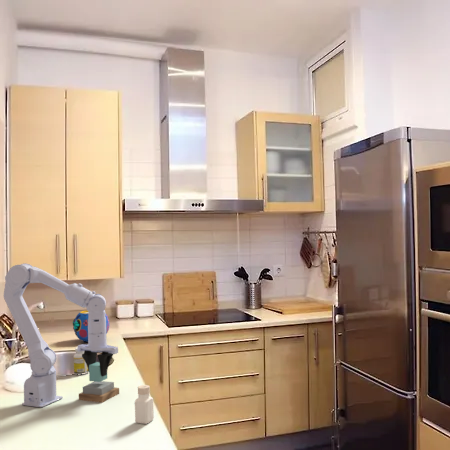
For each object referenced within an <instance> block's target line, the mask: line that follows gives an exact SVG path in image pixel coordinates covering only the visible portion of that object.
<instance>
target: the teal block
mask: <svg viewBox="0 0 450 450" xmlns="http://www.w3.org/2000/svg"><path fill="white" fill-rule="evenodd" d="M88 374H89V382H94V381H95V382H101V381H105V380H107V379H108V374H107V375H105V376H101V372H100V363H99V361H96V363H93V364H91V365H89V372H88Z"/></svg>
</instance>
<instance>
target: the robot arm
mask: <svg viewBox="0 0 450 450" xmlns="http://www.w3.org/2000/svg"><path fill="white" fill-rule="evenodd" d="M4 281H5V282H4V283H5V284H4V291H3V299H4V301H5V304H6V305H7V307H8V310H9V312H10V314H11V316H12V319H13V320H14V322H15V324H16V326H17V329H18V331H19V332H20V335H21V337H22V338H23V341H24V343H25V345H26V347H27V355H28V358H29V361H30V365H29V366H30V370H31V375H30V377H28V378H27V379H26V380H25V381H24V382H23V402H22V403H21V404H22V406H28V407H37V408H44V407H46V406H48V405H51V404H52V403H53V404H54V403H55V402H56V401H59V400H62V399H63V396H62V395H57V369H56V368H55V366H54V364H55V363H56V361H57V353H56V352H55V351H54V350H53V349H52V348H51V347H50V346H49V344H48V343H47V342H46V341H45V340H44V338H43V336H42V334H41V332H40V330H39V328H38V326H37V323H36V322H35V320H34V317H33V315H32V313H31V311H30V309H29V307H28V305H27V303H26V301H25V299H24V297H23V295H24V293H25V290H26V289H27V286H28V285H29V284H40V283H41V284H43V285H45V286H48V287H49V288H51V289H54V290H56V291H58V292H60V293H62V294H64V297H65V300H67V301H69V302H71V303H74V305H77V306H79V307H81V308H84V309H85V308H86V311H88V342H87V344H84V343H83V344H78V345H77V347H78V352H81V351H84V354H82V357H83V359H84V360H85V362H86V364H87V367H88V370H89V365H91V364H93V363H96V362H97V359H98V362H99V363H100V372H101V376H105V375H107V376H108V370H109V369H108V368H109V365H110V362H111V359H112V357H113V356H114V355H117V354H119V347H118V346H113V345H109V344H108V343H107V334H106V317H105V315H106V314H107V313H106V310H105V309H106V306H107V300H106V298H105V296H103V295H102V294H100V293H96V291H94V290H89V289H88V288H86V287H84V286H83V284H82V283H76V282H74V283H71V284H68V282H65V281H64V280H62V279H60V278H58V277H56V276H55V275H53V274H52V273H50V272H48V271H46V270H44V269H42V268H39V267H37V266H33V265H32V264H30V263H27V262H26V263H24V262H23V263H21V264H15V265H12V266H11V267H10V268H9V269H8V271H7V273H6V275H5V276H4ZM98 353H100V354H98Z"/></svg>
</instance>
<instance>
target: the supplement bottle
mask: <svg viewBox="0 0 450 450" xmlns="http://www.w3.org/2000/svg"><path fill="white" fill-rule="evenodd" d="M74 349H75V350H74V352H75V353H74V354H73V373H74V375H76V376H78V375H77V374H80V375H79V376H82V375H81V374H82V373H85V374H84V375H87V374H86V372H88V373H89V370H88V367H87V364H86V362H85V360H84V359H83V357H82V354H84V351H81V352H78V346H76V347H75V348H74Z"/></svg>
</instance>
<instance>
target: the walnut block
mask: <svg viewBox="0 0 450 450" xmlns="http://www.w3.org/2000/svg"><path fill="white" fill-rule="evenodd" d="M119 394H120V388H119V387H115V386H114V389H112V390H110V391H108V392H107V393H105V394H103V395H95V394H84V393H83V391H82V392H80V393H78V401H87V402H93V403H94V402H95V403H101V404H102V403H104V402H106V401H109V400H111V399H112V398H115V397H116V396H118V395H119Z"/></svg>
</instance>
